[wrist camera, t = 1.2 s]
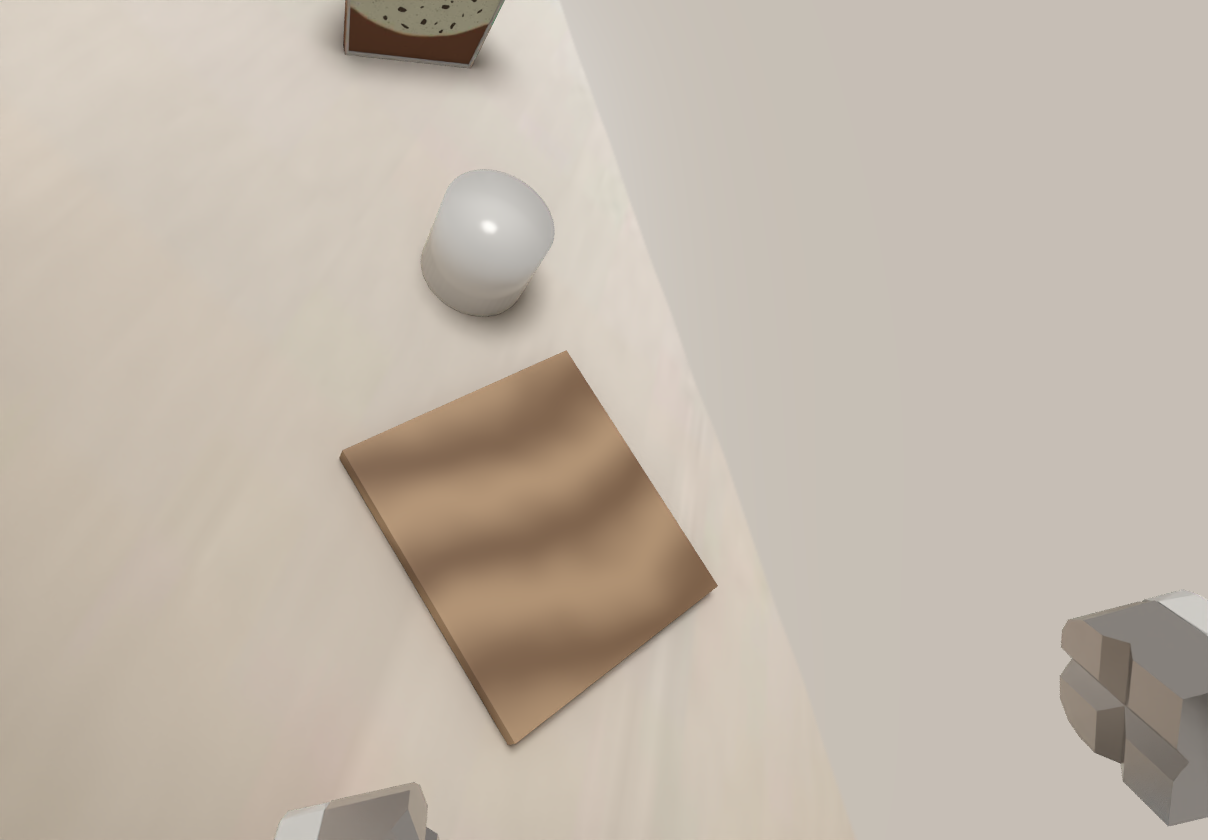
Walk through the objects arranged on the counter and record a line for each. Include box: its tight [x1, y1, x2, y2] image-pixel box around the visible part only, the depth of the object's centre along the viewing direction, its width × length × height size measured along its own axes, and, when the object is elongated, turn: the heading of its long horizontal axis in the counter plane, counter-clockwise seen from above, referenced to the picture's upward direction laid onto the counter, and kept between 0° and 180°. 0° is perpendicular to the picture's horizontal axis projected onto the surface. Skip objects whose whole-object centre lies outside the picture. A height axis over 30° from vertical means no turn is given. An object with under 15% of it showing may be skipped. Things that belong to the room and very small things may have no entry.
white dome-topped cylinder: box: [421, 169, 554, 316], centre depth 50 cm, size 7×7×6 cm
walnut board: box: [340, 350, 718, 745], centre depth 46 cm, size 18×16×1 cm
